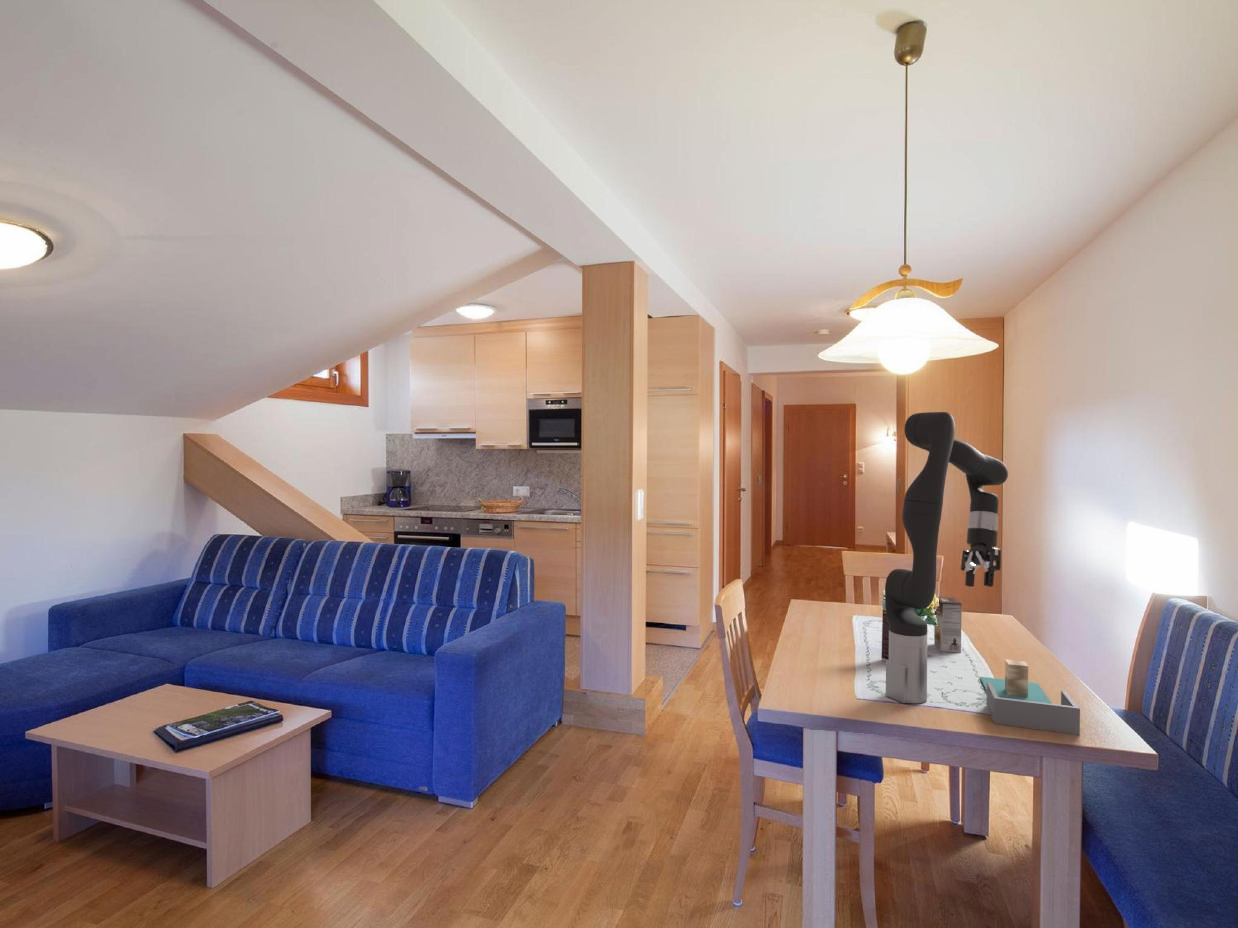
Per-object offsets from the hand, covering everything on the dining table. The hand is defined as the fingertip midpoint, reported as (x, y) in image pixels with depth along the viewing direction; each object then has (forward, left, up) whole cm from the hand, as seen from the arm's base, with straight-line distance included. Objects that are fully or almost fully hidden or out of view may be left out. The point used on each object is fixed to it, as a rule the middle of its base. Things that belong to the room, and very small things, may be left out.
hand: (978, 586), depth 184 cm
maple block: (0, -11, -26) cm, 29 cm away
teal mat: (+2, -10, -27) cm, 29 cm away
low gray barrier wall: (-12, -23, -27) cm, 37 cm away
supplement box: (-6, +23, -27) cm, 36 cm away
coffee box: (+20, +27, -27) cm, 43 cm away
